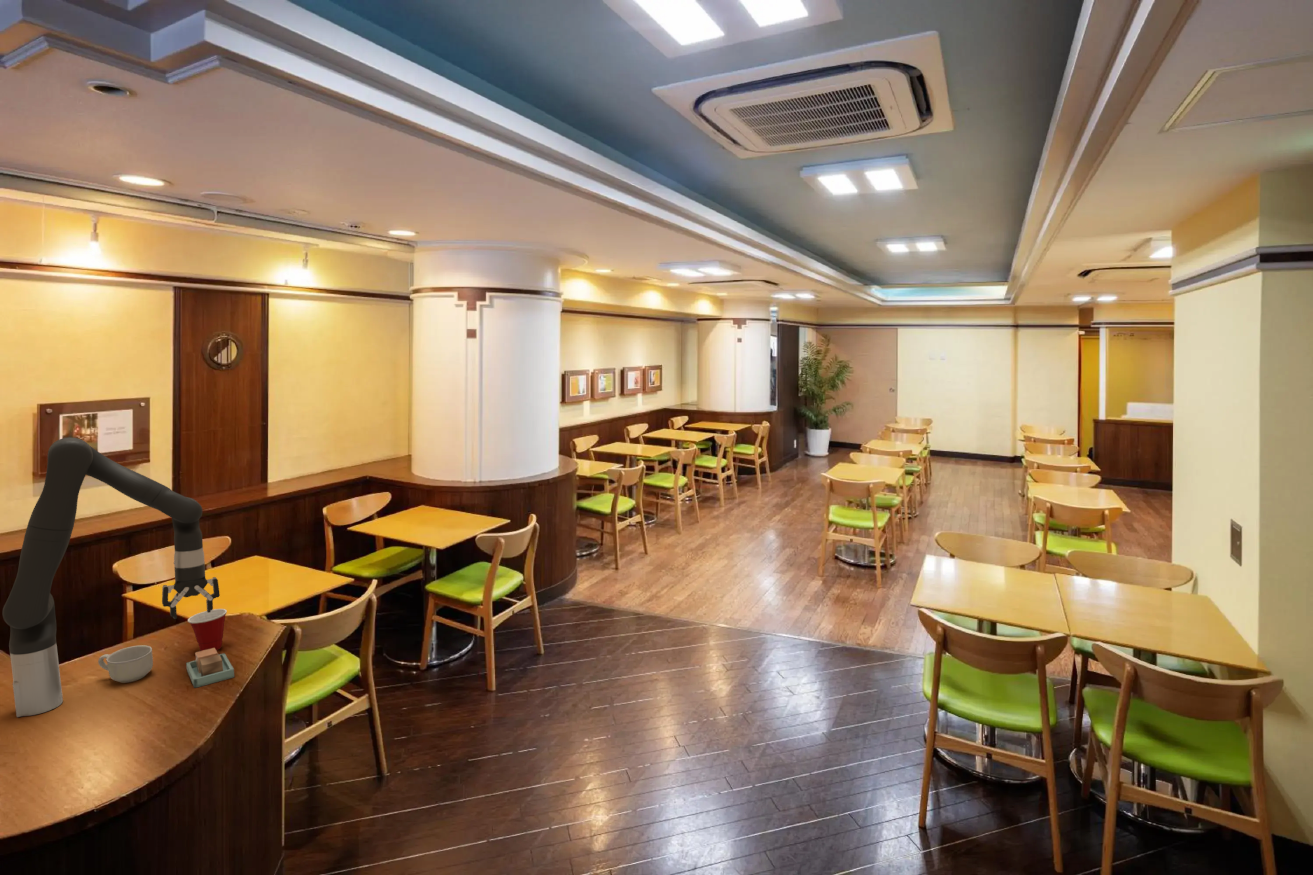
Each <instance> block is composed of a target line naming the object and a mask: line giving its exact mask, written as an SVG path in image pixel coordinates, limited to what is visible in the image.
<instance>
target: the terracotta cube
mask: <svg viewBox="0 0 1313 875" xmlns="http://www.w3.org/2000/svg"><path fill="white" fill-rule="evenodd" d="M194 654H195V660H196V665H197V670H198V672H199V673H201V669H200V660H201V659H205V658H209V657H213V656H217V655H219V653H218V650H216V649H215V648H212V649H207V650H203V651H201V650H199V651H196V652H194Z"/></svg>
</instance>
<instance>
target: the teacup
mask: <svg viewBox="0 0 1313 875" xmlns="http://www.w3.org/2000/svg"><path fill="white" fill-rule="evenodd" d="M104 659H105V660H106V662H107V663H106V662H105V661H104ZM97 663H98V665H99V667H101V668H102V669H103V670H106V671H108V674H109V677H110V678H111V679H112V680H113V681H114V682H115V681H116V682H118V683H121V684H126V683H127V684H128V683H133V682H136V681H138V680H141V679H143V678H144V677H145V676H147V674H148V673H149V672H151V670H152V669H153V665H154V660H153V648H152V647H151V646H150V645H145V644H143V645H142V644H141V645H140V644H139V645H133V646H128V647H124V648H121V649H118V650H116V651H114V652H112V653H110V654H103V655H101V656H100V657H98V661H97Z"/></svg>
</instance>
